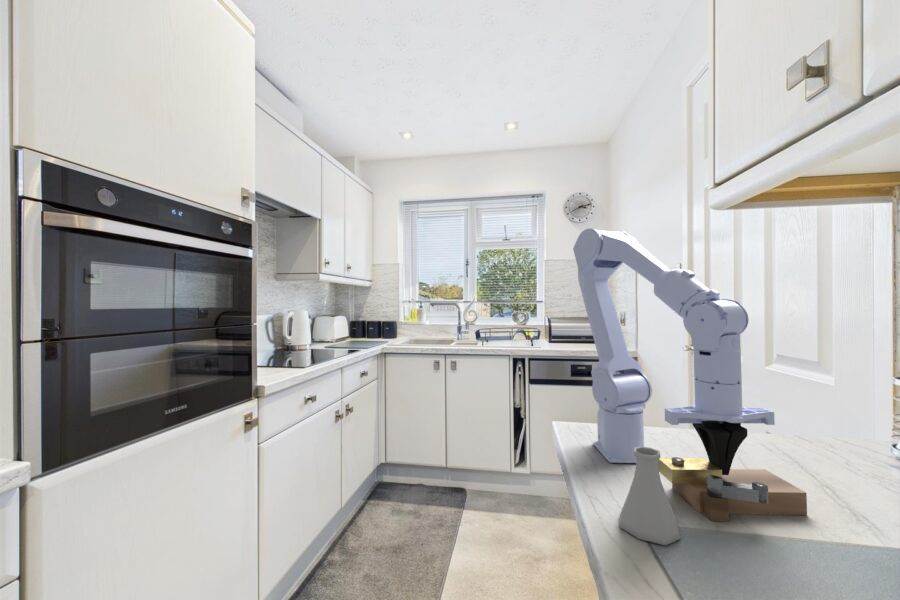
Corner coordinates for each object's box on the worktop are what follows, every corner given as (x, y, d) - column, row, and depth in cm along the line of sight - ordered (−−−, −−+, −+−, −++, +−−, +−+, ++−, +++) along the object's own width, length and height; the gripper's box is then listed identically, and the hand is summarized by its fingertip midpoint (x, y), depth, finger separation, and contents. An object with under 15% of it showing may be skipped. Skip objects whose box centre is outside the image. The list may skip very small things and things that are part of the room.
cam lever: (764, 497, 48) (764, 481, 48) (771, 505, 47) (770, 487, 47) (705, 489, 51) (704, 474, 51) (709, 496, 49) (708, 479, 49)
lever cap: (657, 470, 57) (657, 453, 57) (704, 471, 56) (704, 454, 56) (671, 483, 53) (671, 465, 53) (722, 483, 52) (721, 465, 53)
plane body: (672, 487, 57) (671, 468, 57) (765, 489, 57) (765, 469, 57) (708, 520, 49) (707, 498, 49) (819, 522, 48) (818, 499, 48)
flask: (609, 528, 48) (607, 451, 48) (629, 506, 53) (627, 436, 53) (672, 555, 42) (670, 468, 43) (688, 527, 47) (686, 450, 48)
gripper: (682, 386, 51) (685, 484, 51) (791, 386, 50) (794, 485, 50) (656, 376, 58) (659, 462, 58) (752, 376, 57) (754, 463, 57)
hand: (719, 472), depth 54 cm, fingers closed
